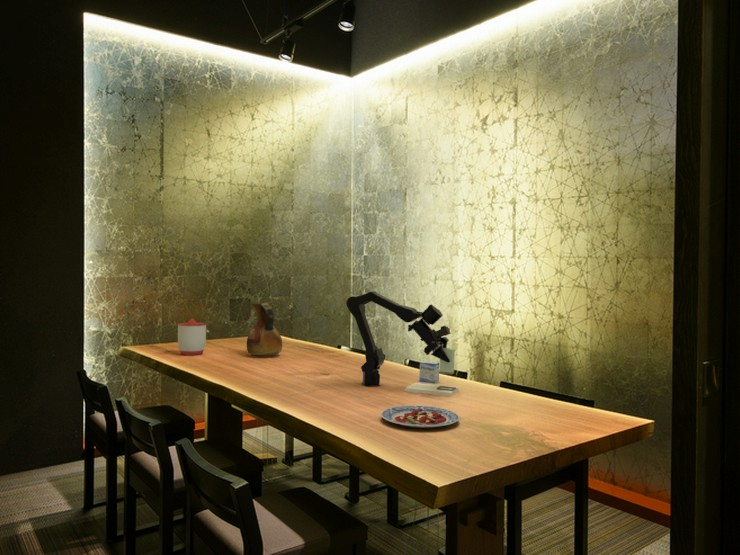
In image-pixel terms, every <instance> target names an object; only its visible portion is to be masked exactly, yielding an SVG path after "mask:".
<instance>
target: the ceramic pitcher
mask: <svg viewBox="0 0 740 555" xmlns="http://www.w3.org/2000/svg"><path fill="white" fill-rule="evenodd" d="M251 306H253V307H254V309H255V312H256V314H257V315H256V317H257V318H256V320H257V321H256V324H255V325H254V326H253V327H251V329H250V331H249V333H248V335H247V338H246V351H247V353H248V354H250V355H254V356H277V355H279V354H280V353H281V352H282V349H283V339H282V336H281V333H280V332H279V330H278V328H276V326H274V321H275V320H274V318H275V314H274V311H273V306H272V303H271V302H263V303H262V302H258V303H257V302H256V303H252V304H251Z"/></svg>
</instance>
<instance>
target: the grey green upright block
mask: <svg viewBox="0 0 740 555" xmlns="http://www.w3.org/2000/svg"><path fill="white" fill-rule="evenodd" d="M443 351H444V352H445V354H446V355H447V357H448V358H449V360H450V362H449V363H448V362H446V361H443V360H441V359H439V374H443V375H453V374H455V348H448V347H447V348H443Z"/></svg>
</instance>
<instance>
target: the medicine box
mask: <svg viewBox="0 0 740 555" xmlns="http://www.w3.org/2000/svg"><path fill="white" fill-rule="evenodd" d="M418 379H419V380H418V381H419V382H423V383H427V384H429V383H430V384H437V383H439V382H440V362H434V361H433V362H432V361H424V360H423V361H420V362H419V378H418Z"/></svg>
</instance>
